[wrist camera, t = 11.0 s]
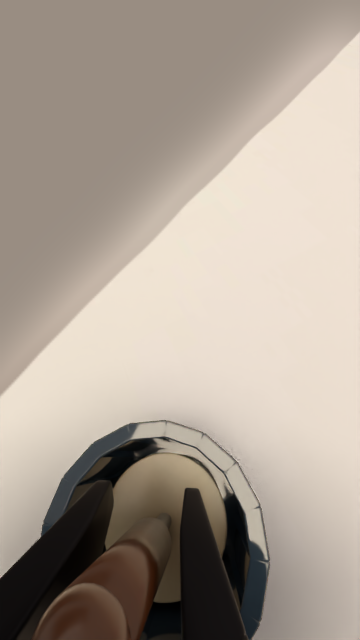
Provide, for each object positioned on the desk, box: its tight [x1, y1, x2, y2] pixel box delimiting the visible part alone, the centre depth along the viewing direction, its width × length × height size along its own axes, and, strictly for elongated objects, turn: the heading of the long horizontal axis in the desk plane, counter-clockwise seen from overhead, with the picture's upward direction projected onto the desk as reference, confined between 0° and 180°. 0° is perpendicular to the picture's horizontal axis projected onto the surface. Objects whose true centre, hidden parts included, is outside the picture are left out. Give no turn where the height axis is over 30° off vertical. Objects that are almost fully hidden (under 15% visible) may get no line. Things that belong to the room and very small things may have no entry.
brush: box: [31, 453, 227, 640], centre depth 9 cm, size 5×5×14 cm
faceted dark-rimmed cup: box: [41, 420, 270, 640], centre depth 13 cm, size 7×7×8 cm
